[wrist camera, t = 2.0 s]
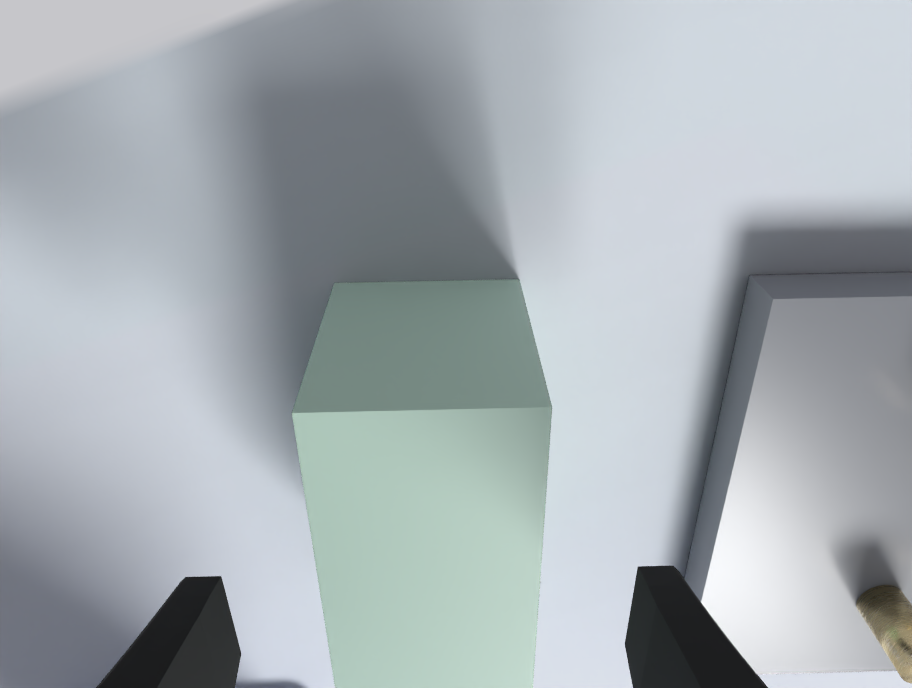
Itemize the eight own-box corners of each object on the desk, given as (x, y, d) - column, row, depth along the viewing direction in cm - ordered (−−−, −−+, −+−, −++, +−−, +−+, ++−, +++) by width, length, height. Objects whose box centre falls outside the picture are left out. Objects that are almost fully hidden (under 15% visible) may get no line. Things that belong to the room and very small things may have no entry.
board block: (508, 543, 19) (530, 720, 14) (363, 547, 19) (341, 725, 14) (518, 276, 15) (552, 406, 10) (334, 280, 15) (291, 413, 10)
